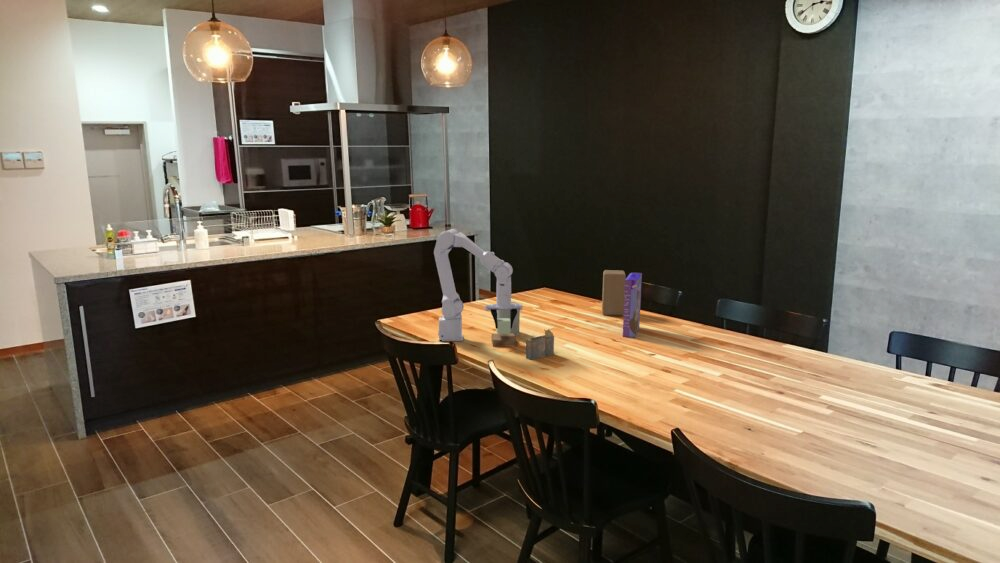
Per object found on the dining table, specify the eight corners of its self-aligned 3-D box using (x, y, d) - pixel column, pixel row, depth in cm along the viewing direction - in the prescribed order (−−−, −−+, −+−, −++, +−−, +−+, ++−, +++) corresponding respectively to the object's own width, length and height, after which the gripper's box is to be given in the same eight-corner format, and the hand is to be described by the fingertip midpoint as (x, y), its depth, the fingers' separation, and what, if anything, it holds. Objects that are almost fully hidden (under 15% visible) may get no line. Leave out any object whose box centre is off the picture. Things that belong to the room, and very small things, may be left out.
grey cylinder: (520, 330, 266) (521, 302, 264) (518, 336, 257) (518, 307, 255) (498, 329, 268) (498, 301, 265) (495, 335, 258) (495, 306, 256)
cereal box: (634, 337, 256) (637, 280, 252) (622, 336, 258) (625, 279, 253) (639, 327, 272) (641, 272, 268) (628, 326, 274) (630, 272, 269)
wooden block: (601, 310, 302) (603, 269, 298) (623, 311, 300) (624, 270, 297) (602, 315, 292) (603, 273, 288) (624, 316, 291) (625, 273, 287)
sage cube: (497, 333, 245) (497, 321, 244) (497, 330, 250) (497, 318, 249) (510, 333, 245) (510, 321, 244) (509, 330, 250) (509, 318, 249)
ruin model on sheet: (548, 353, 237) (548, 328, 235) (553, 355, 234) (554, 330, 232) (525, 359, 230) (525, 333, 228) (530, 361, 228) (530, 335, 226)
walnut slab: (492, 346, 244) (492, 340, 243) (491, 339, 253) (491, 333, 252) (515, 345, 244) (515, 339, 244) (513, 339, 253) (513, 333, 253)
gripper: (485, 296, 240) (485, 330, 243) (523, 296, 241) (523, 330, 244) (484, 292, 247) (484, 326, 250) (521, 292, 248) (521, 325, 251)
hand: (503, 327), depth 247 cm, fingers closed on sage cube, 5 cm apart
